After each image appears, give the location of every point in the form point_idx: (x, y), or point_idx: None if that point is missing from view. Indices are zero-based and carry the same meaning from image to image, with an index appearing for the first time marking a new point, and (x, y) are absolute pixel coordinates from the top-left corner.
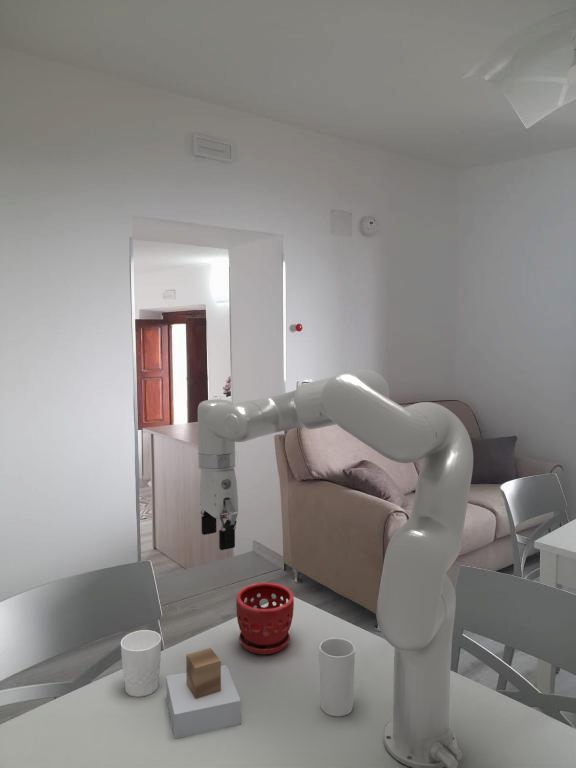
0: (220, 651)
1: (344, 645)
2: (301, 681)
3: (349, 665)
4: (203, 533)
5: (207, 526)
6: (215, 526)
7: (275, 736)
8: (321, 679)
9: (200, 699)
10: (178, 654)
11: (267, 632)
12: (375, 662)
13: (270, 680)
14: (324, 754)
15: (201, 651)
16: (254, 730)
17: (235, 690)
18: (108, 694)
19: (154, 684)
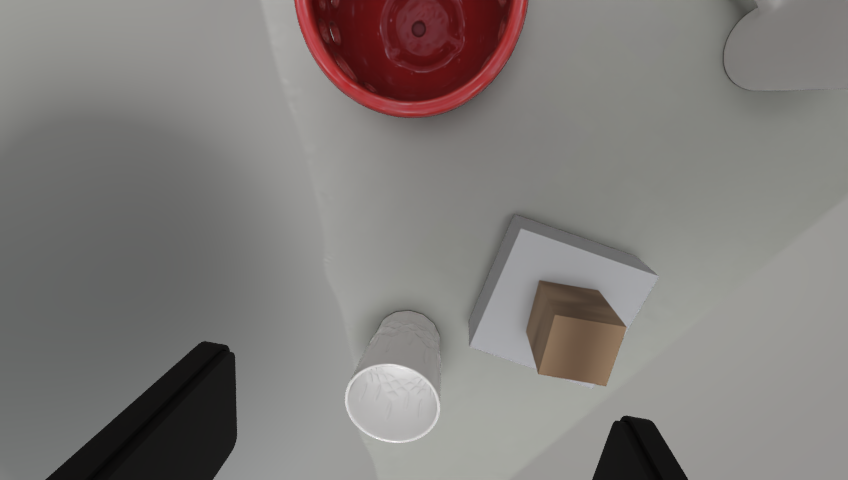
0: (386, 151)
1: None
2: (626, 56)
3: None
4: (229, 451)
5: (192, 471)
6: (198, 391)
7: (718, 224)
8: (808, 87)
9: None
10: (343, 235)
11: (410, 6)
12: None
13: (566, 120)
14: (839, 180)
15: (552, 340)
16: (671, 246)
17: (621, 265)
18: None
19: (436, 337)
